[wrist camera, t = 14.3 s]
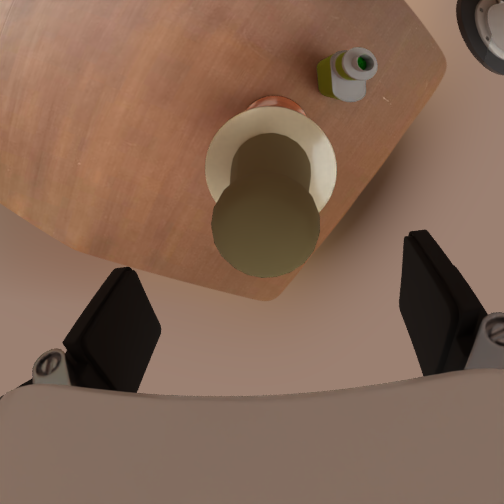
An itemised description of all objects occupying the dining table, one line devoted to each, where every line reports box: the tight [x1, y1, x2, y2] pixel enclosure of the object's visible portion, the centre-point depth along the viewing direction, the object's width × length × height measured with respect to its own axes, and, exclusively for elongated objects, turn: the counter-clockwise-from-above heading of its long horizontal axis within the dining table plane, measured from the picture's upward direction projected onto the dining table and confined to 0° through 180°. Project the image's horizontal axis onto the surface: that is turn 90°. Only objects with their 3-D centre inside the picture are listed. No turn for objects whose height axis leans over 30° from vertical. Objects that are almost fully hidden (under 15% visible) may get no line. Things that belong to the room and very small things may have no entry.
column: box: [205, 96, 337, 213], centre depth 34 cm, size 10×10×24 cm
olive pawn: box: [211, 133, 320, 278], centre depth 19 cm, size 6×6×11 cm
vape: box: [317, 47, 378, 102], centre depth 31 cm, size 4×6×20 cm, turn 6°
